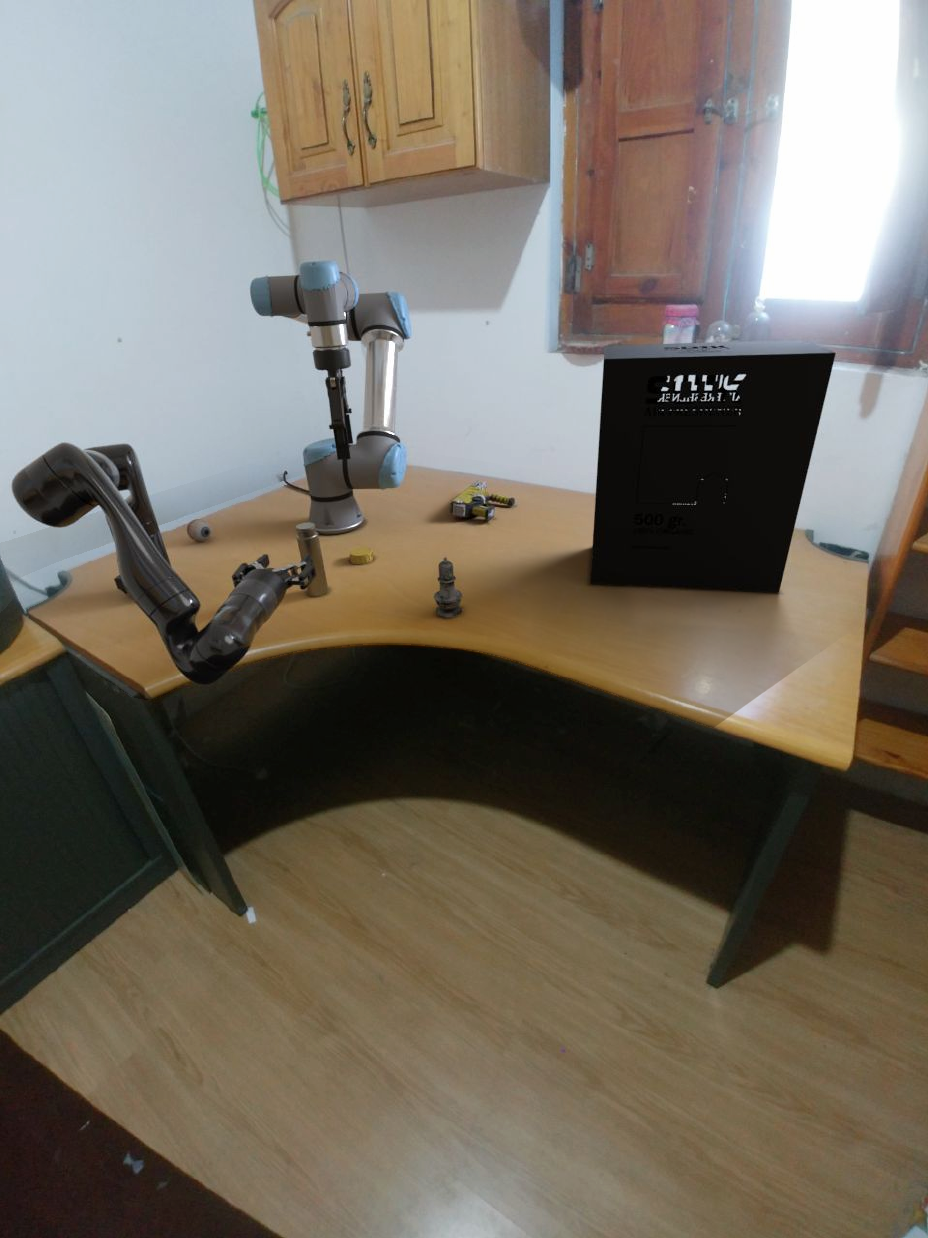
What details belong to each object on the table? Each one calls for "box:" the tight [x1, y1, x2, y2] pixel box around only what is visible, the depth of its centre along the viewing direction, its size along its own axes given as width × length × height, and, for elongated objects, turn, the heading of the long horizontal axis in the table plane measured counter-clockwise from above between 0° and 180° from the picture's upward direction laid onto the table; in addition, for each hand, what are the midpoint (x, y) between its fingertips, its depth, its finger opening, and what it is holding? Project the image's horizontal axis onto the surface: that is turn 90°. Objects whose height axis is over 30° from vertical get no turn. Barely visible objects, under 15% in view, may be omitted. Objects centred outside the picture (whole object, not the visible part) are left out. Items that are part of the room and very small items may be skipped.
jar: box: [295, 522, 329, 598], centre depth 130 cm, size 4×4×16 cm
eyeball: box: [186, 518, 212, 542], centre depth 162 cm, size 6×6×6 cm
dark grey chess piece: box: [433, 556, 463, 618], centre depth 120 cm, size 6×6×12 cm
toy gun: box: [449, 480, 516, 522], centre depth 174 cm, size 5×24×15 cm
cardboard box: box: [590, 338, 837, 594], centre depth 124 cm, size 38×20×45 cm, turn 78°
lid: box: [349, 546, 374, 565], centre depth 147 cm, size 6×6×2 cm
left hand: (287, 558), depth 118 cm, fingers open, 8 cm apart
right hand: (345, 451), depth 135 cm, fingers open, 13 cm apart
